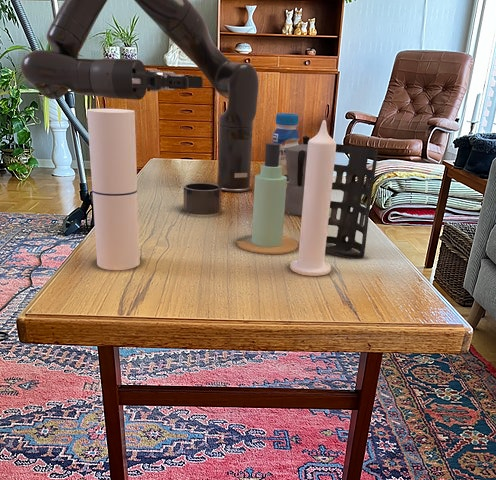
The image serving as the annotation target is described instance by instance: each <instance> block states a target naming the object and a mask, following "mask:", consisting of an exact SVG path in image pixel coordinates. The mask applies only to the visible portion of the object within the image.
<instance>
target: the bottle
mask: <svg viewBox="0 0 496 480" xmlns="http://www.w3.org/2000/svg"><path fill="white" fill-rule="evenodd" d="M264 151H265V152H264V153H265V154H264V163H263V164H261V165H260V172H259V173H258V174H255V175H254V187H253V188H254V189H253V190H254V191H253V207H252V208H253V209H252V227H251V228H252V229H251V242H252V243H253V244H255V245H257V246H261V247H277V246H280V245H281V244H282V238H283V236H284V224H285V223H284V222H285V211H284V210H285V197H286V187H287V184H286V183H287V177H286V176H283V175H282V166H281V165H279V152H280V144H278V143H273V142H266V143H265V150H264Z"/></svg>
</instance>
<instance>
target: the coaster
mask: <svg viewBox="0 0 496 480" xmlns="http://www.w3.org/2000/svg"><path fill="white" fill-rule="evenodd" d="M236 243H237V246H238V247H239V248H241V250H242V249H243V250H244V251H247V252H251V253H254V254H261V255H284V254H289V253H293V252H295V251H296V250H298V249H299V243H298V242H297V241H296V240H295V239H293V238H291V237H288V236H284V235H283V238H282V244H281V245H280V246H277V247H261V246H257V245H255V244H253V243H252V241H249V240H248V241H246V240H239V239H238V240H236Z"/></svg>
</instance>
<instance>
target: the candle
mask: <svg viewBox="0 0 496 480" xmlns="http://www.w3.org/2000/svg"><path fill="white" fill-rule="evenodd" d="M321 121H322V122H321V125H320V128H319V131H318V132H317V134H316V135H315V136H313V137H311V138H309V141H308V149H307V161H306V173H305V185H304V196H303V208H302V216H301V221H300V232H299V233H300V234H299V243H298V256H297V257H298V258H297V259H294V260H292V261H291V262H290V264H289V268H290V270H291V271H292V272H294V273H295V274H298V275H302V276H307V277H308V276H309V277H321V276H326V275H328V274H330V272H331V270H332V266H331V264H330V263H329V262H327V261H325V259H326V251H325V248H326V246H327V243H326V239H327V236H328V228H329V225H328V220H329V218H330V211H331V208H330V201H332V200H331V199H332V191H333V190H332V183H333V180H334V172H335V171H334V164H335V160H336V153H337V152H336V144H337V142H336V140H334V139H333V137H331V135H330V134H329V132H328V127H327V121H326V119H323V120H321Z"/></svg>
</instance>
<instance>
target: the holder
mask: <svg viewBox="0 0 496 480" xmlns="http://www.w3.org/2000/svg"><path fill="white" fill-rule="evenodd" d="M336 153H338V154H339V153H340V154H348V155H349V156H348V163H347V165H346V164H345V165H343V164H335V163H334V172H336V176H335V181H334V182H332V191H333V190H334V191H341V192H343V195H342V201H335V200H330V214H329V220H328V226H334V227H337V232H336V236H331V235H327V239H326V244H328V245H329V244H330V245H329V246H327V245H326V248H325V253H329V254H331V255H334V256H335V255H337V256H340V257H345V258H350V259H351V258H352V259H363V258H364V257H365V253H366V243H367V235H368V228H369V227H368V226H369V218H370V211H371V210H370V209H371V204H372V195H373V189H374V183H375V182H374V181H375V176H376V171H377V170H376V169H377V163H378V156H379V150H378V148H372V147H364V146H355V145H348V144H341V143H336ZM369 158H373V159H372V166H371V169H370V168H368V161H369ZM344 173H345V177H346V178H345V182H343V178H344ZM363 195H364V196H366V197H367V198H366V199H367V200H366V207H365V206H363V205H362V198H363ZM351 209H352V210H351ZM338 210H340V214H339V219H338V218H337V216H338ZM357 231H358V232H360V233H361V234H362V238H361V242H359V241H357V240H356V235H357ZM352 249H353V250H356V251H358V252H352V251H350V250H352Z"/></svg>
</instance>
